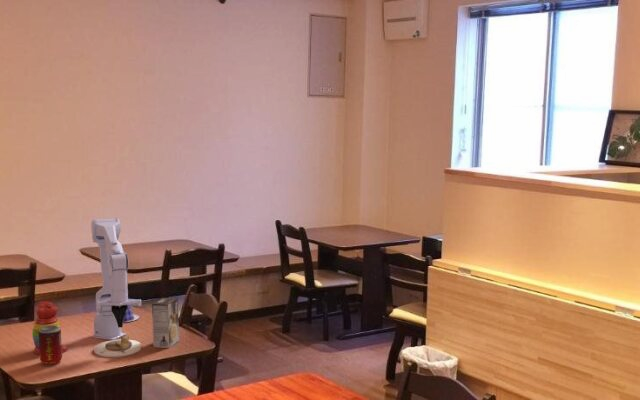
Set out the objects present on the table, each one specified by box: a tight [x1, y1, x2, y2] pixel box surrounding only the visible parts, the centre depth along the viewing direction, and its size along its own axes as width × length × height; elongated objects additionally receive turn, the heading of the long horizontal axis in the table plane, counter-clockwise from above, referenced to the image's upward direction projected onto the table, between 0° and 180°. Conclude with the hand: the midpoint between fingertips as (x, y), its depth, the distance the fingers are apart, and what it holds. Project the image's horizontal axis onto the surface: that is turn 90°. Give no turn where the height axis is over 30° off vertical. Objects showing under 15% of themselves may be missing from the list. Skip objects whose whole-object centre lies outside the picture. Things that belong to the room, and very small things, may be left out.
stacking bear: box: [32, 300, 68, 356], centre depth 269 cm, size 11×10×18 cm
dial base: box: [93, 339, 142, 358], centre depth 271 cm, size 16×16×1 cm
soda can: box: [38, 326, 63, 367], centre depth 256 cm, size 7×7×12 cm
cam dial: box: [105, 335, 132, 351], centre depth 268 cm, size 13×9×5 cm
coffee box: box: [151, 297, 180, 349], centre depth 276 cm, size 9×6×16 cm
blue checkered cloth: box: [123, 306, 140, 323], centre depth 309 cm, size 12×12×5 cm
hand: (120, 326), depth 267 cm, fingers closed
